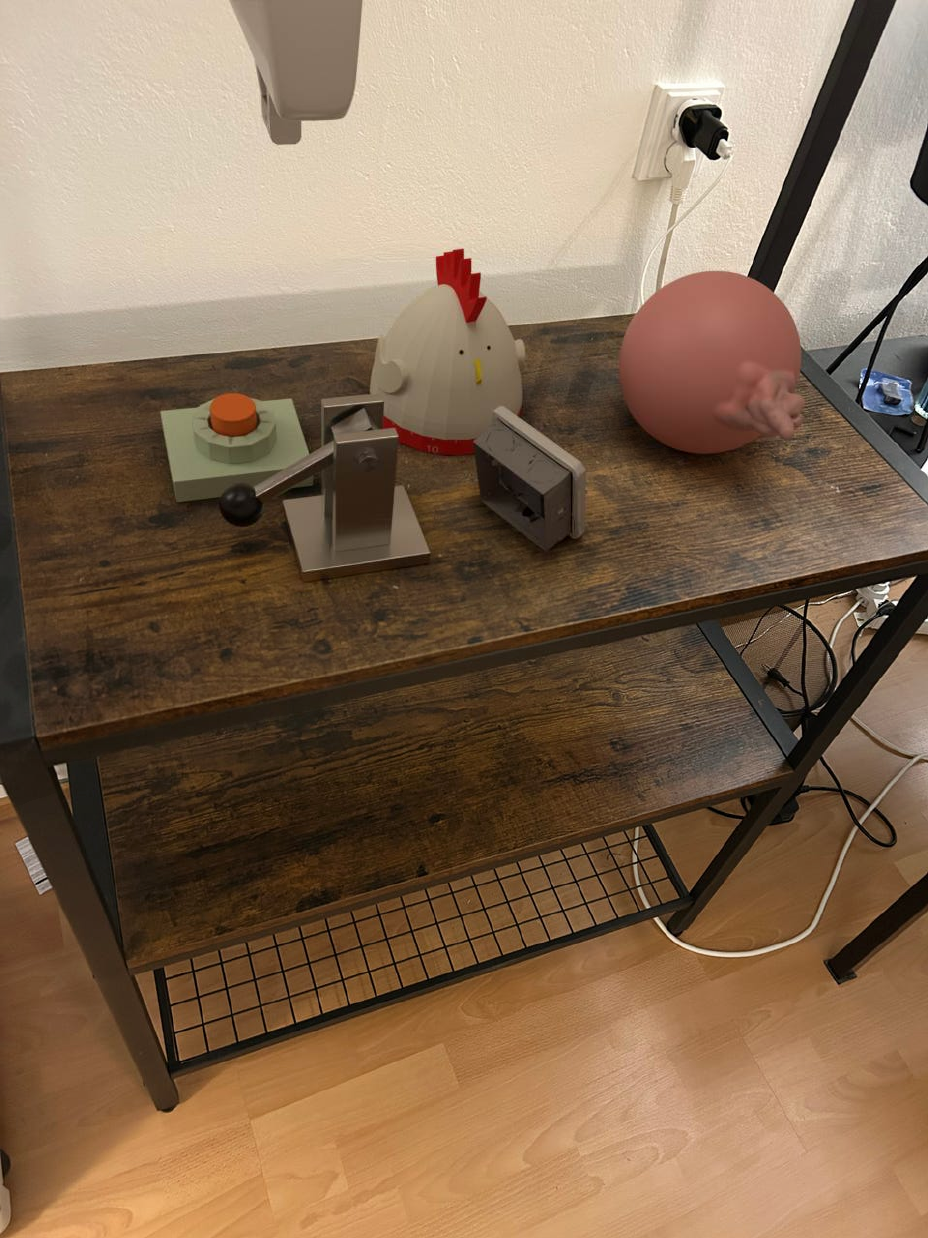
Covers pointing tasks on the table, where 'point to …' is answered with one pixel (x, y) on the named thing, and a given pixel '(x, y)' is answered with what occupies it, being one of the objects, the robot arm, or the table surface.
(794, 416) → the balloon
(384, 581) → the table surface
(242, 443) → the control block
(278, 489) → the switch lever
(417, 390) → the kitchen timer
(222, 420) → the button
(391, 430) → the switch bracket
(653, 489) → the table surface
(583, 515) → the electrical switch
